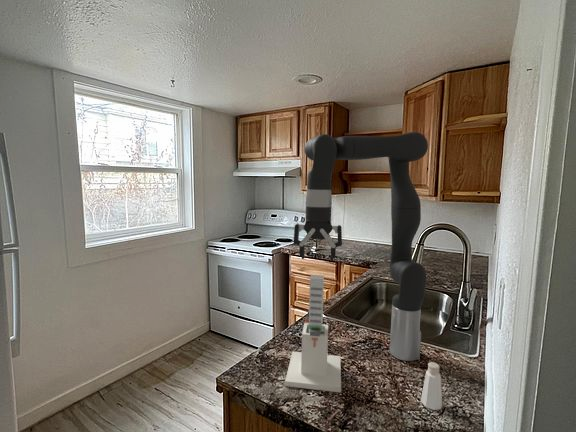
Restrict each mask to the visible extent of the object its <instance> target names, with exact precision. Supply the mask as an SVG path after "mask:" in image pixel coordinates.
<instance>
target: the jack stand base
mask: <svg viewBox="0 0 576 432" xmlns="http://www.w3.org/2000/svg"><path fill="white" fill-rule="evenodd" d="M301 333H302V334H301V351H292V352H291V356H290V361H289V365H288V369H287V373H286V377H285V379H284V386H285V387H291V388H298V389H306V390H307V389H308V390H316V391H326V392H334V393H342V376H341V375H342V373H341V371H342V369H341V356H340V355H332V354H328V352H329V351H328V349H329V348H328V347H329V343H328V341H329V324H324V323H323V324H322V334H320V330H311V329H310V333H309V323H305V322H304V324H303V327H302V332H301Z"/></svg>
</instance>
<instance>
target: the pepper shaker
mask: <svg viewBox="0 0 576 432" xmlns="http://www.w3.org/2000/svg"><path fill="white" fill-rule="evenodd" d="M427 366H428V368H427V370H426V371H425V376H424V381H423V386H422V387H423V388H422V391H421V392H422V394H421V398H420V403H421V404H422V405H423V406H424V407H425V408H427V409H430V410H432V411H437V410H442V406H443V397H442V396H443V395H442V378H441V377H442V375H441V374H440V367H441V366H440V365H439V364H438V363H436V362H434V361H433V362H432V361H431V362H430V361H429V362H428V363H427Z"/></svg>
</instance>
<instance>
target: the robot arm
mask: <svg viewBox="0 0 576 432" xmlns="http://www.w3.org/2000/svg"><path fill="white" fill-rule="evenodd" d="M428 148H429V142H428V140H427V138H426V136H425V135H424V134H423V133H421V132H417V131H412V132H411V131H410V132H404V133H402V134H397V135H390V136H389V135H388V136H387V135H386V136H376V135H372V136H369V135H366V136H365V135H343V136H338V137H333V136H332V135H330V134H320V135H318V136H317V135H316V136H314V137H311V138H310V139H309V140H307V142H306V143H305V145H304V150H303V151H304V154H305V156H306V157H307V158H308V159H309V160H311V161H312V166H311V168H310V170H309V171H308V172H307V178H306V179H307V181H306V183H307V185H306V195H305V198H306V199H305V223H304V224H299V223H295V225H294V229H293V230H294V233H293V244H294V245H297V246H299V257H300V258H301V259H302V260H304V259H305V257H306V256H305V253H306V252H305V251H306V246H305V244H306V243H307V242H308V241H309V239H312V240H320V241H321V240H326V241H327V242H328V244H329V246H330V261H334V259H336V249H337V248H338V247H341V246H342V245H343V232H342V225H340V224H338V225H332V204H333V203H332V201H333V200H332V199H333V198H332V175H333V171H334V167H335V163H336V160H343V161H356V160H357V161H359V160H370V159H371V160H372V159H378V158H380V159H381V158H387V159H388V167H389V176H390V190H391V191H390V193H391V202H390V205H391V206H390V216H391V252H390V261H389V274H390V277H391V279H392V280H393V281H394V282H395V283H396V284H398V285H399V291H398V292H399V293H396V294H394V295H393V296H392V301H391V317H390V318H391V319H390V320H391V322H390V339H389V354H390V355H392V357H394V358H395V359H398V360H401V361H405V362H412V361H416V360H418V361H420V360H421V358H420V357H421V343H422V331H421V330H420V328H421V326H420V325H421V311H422V304H423V302H424V300H425V296H426V295H425V294H426V287H427V271H426V269H425V267H424V265H422V264H421V263H419V262H416V261H414V260H413V252H412V250H413V249H412V248H413V247H412V245H413V240H414V238H415V236H416V234H417V232H418V230H419V227H420V225H421V220H422V219H421V218H422V217H421V216H422V212H421V211H422V210H421V205H422V204H421V199H420V196H419V195H418V192H417V190H416V188H415V187H414V186H415V185H414V184H413V182H412V180H411V176H410V162H416V161H418V160H420V159H422V158H424V157H425V156H426V154H427V152H428ZM302 229H304V231H305V233H306V235H305V236H304V237H303V239H302V240H300V239H299V237H300V232H302ZM332 231H334V234H335V233H336V234H337V241H336V242H335V241H334V240H333V238H332V237H331V235H330V234H331V233H332Z"/></svg>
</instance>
